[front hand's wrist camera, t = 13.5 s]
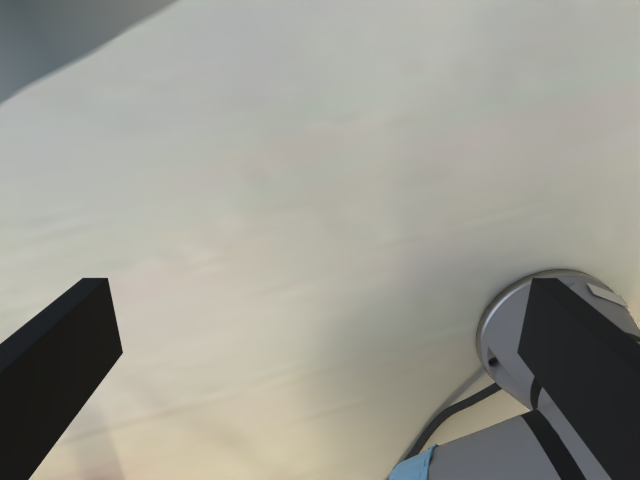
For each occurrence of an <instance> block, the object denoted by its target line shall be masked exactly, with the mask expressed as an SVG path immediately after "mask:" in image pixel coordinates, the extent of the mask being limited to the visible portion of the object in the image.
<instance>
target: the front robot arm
mask: <svg viewBox="0 0 640 480" xmlns="http://www.w3.org/2000/svg"><path fill="white" fill-rule="evenodd" d="M625 306H626V307H628V306H627V304H626V303H625V301H624V300H623V298H622V297H621V296H620V295H617V294H615V293H614V292H613V291H612V290H611V289H610V288H608V287H607V286H606V285H604V284H603V283H601V282H600V281H598V280H597V279H595V278H594V277H591V276H589V275H587V274H584V273H581V272H577V271H572V270H550V271H544V272H539V273H536V274H533V275H530V276H527V277H525V278H523V279H521V280H519V281H517V282H515V283H513V284H512V285H510V286H509V287H507V288H506V289H505V290H503V291H502V292H501V293H500V294H499V295H498V296H497V297H496V298H495V299H494V300H493V301H492V302H491V303H490V305H489V306H488V308H487V309H486V311H485V312H484V314H483V316H482V318H481V320H480V323H479V326H478V330H477V337H476V346H477V352H478V355H479V358H480V360H481V362H482V364H483V366H484V367H485V369H486V371H487V373H488V374H489V375H490V377H491V378H492V379H493V380H494V381H495V382H496V383H494V384H492V385H490V386H489V387H487V388H485V389H483V390H481V391H480V392H478V393H476V394H474V395H472V396H471V397H469V398H467V399H465V400H463V401H460V402H458V403H456V404H454V405H452V406H450V407H448V408H447V409H445V410H444V411H443V412H441V413H440V414H439V415H438V416H437V417H436V418H435V419H434V420H433V421H432V422H431V423H430V425H429V426H428V427H427V428H426V430H425V431H424V433H423V434H422V435H421V437H420V438H419V440H418V441H417V443H416V445H415V446H414V447H413V449H412V450H411V452H410V453H409V454H408V456H407V457H406V458H405V460H404V461H402V462H401V463H399V464H398V465H397V466H396V467H395V468H394V469H393V471H392V473H391V474H390V476H389V480H640V330H639V328H638V327H637V325H636V323H635V322H634V320H633V318H632V317H631V315H630V313H629V312H628V310H627V308H626V307H625ZM628 308H629V307H628ZM122 353H123V351H122V346H121V341H120V336H119V331H118V326H117V321H116V316H115V311H114V306H113V302H112V297H111V292H110V287H109V282H108V278H82V279H81V280H80V281H79V282H77V283H76V284H75V285H74V286H72V287H71V288H70V289H69V290H67V291H66V292H65V293H64V294H62V295H61V296H60V297H59V298H57V299H56V300H55V301H54V302H52V303H51V304H50V305H49V306H47V307H46V308H45V309H44V310H42V311H41V312H40V313H39V314H37V315H36V316H35V317H34V318H32V319H31V320H30V321H29V322H27V323H26V324H25V325H24V326H22V327H21V328H20V329H19V330H17V331H16V332H15V333H14V334H12V335H11V336H10V337H9V338H7V339H6V340H5V341H4V342H2V343H1V344H0V480H29V478H30V477H31V475H32V474H33V473H34V471H35V470H36V469H37V467H38V466H39V465H40V463H41V462H42V461H43V459H44V458H45V457H46V455H47V454H48V453H49V451H50V450H51V449H52V447H53V446H54V445H55V443H56V442H57V441H58V439H59V438H60V437H61V435H62V434H63V433H64V431H65V430H66V429H67V427H68V426H69V424H70V423H71V422H72V420H73V419H74V418H75V416H76V415H77V414H78V412H79V411H80V410H81V408H82V407H83V406H84V404H85V403H86V402H87V400H88V399H89V398H90V396H91V395H92V394H93V392H94V391H95V390H96V388H97V387H98V386H99V384H100V383H101V382H102V380H103V379H104V378H105V376H106V375H107V373H108V372H109V371H110V369H111V368H112V367H113V365H114V364H115V363H116V361H117V360H118V359H119V357H120V356H121V355H122ZM501 389H503V390H505V391H506V392H507V393H509V394H510V395H511V396H513V397H514V398H515V399H517V400H518V401H519V402H521V403H522V404H523V405H524V406H526V407H527V408H528V409H530V410H531V411H530V412H527V413H525V414H522V415H518V416H516V417H513V418H511V419H508V420H506V421H503V422H501V423H498V424H496V425H493V426H490V427H488V428H485V429H483V430H480V431H478V432H475V433H472V434H469V435H467V436H464V437H461V438H459V439H456V440H453V441H451V442H448V443H445V444H443V445H440V446H439V445H437V444H434V445H432V446H430V447H429V448H428V450H427V451H424V452H422V453H420V454H419V452H420V451H421V449H422V448H423V446H424V445H425V443H426V442H427V440H428V439H429V438H430V436H431V435H432V434H433V432H434V431H435V430H436V429H437V428H438V426H439V425H440V424H441V423H442V422H444V421H445V420H446V419H447V418H448V417H450V416H451V415H453V414H454V413H456V412H458V411H460V410H463V409H465V408H467V407H470V406H472V405H474V404H476V403H477V402H479V401H481V400H483V399H485V398H487V397H488V396H490V395H492V394H494V393H496V392H497V391H499V390H501Z"/></svg>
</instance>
